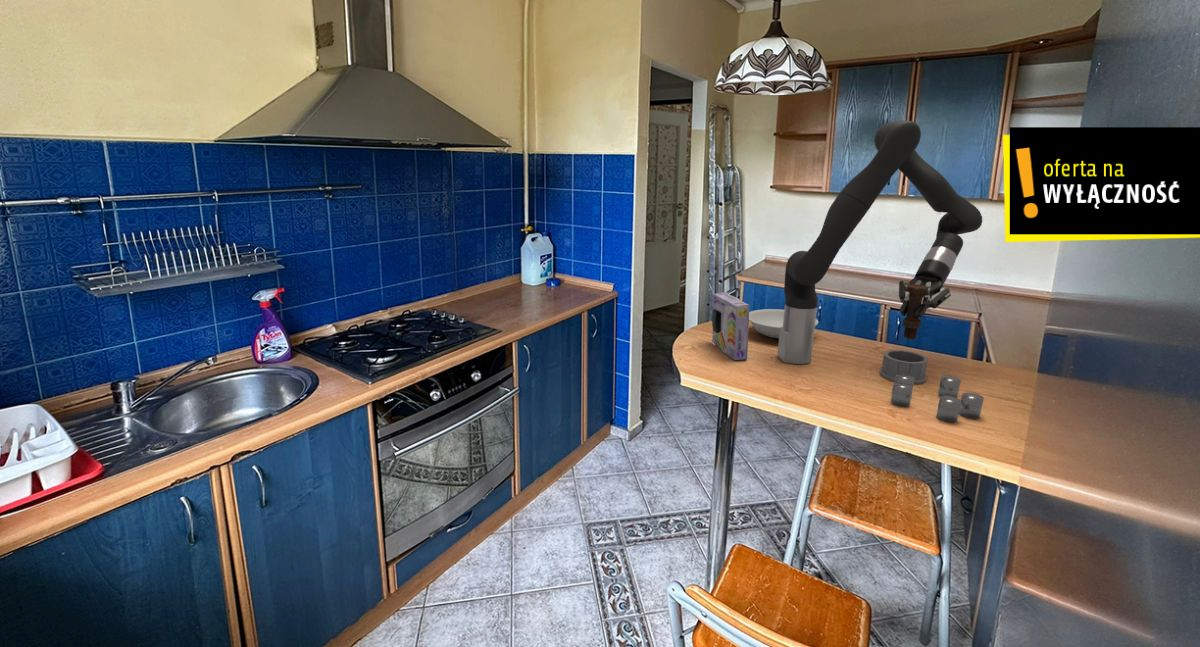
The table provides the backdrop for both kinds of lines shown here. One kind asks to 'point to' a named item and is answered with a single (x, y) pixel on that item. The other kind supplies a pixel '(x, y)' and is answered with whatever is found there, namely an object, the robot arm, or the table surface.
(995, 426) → the table surface
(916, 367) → the round gray container
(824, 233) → the robot arm
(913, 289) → the bolt
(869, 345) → the table surface
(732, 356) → the cake pan box
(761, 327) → the soup bowl
